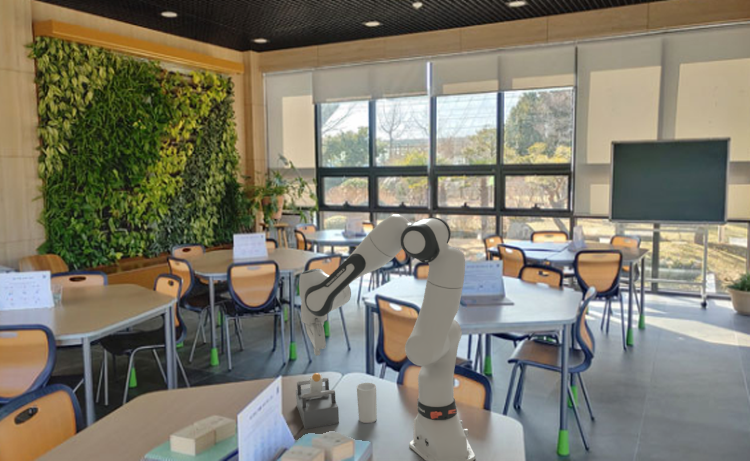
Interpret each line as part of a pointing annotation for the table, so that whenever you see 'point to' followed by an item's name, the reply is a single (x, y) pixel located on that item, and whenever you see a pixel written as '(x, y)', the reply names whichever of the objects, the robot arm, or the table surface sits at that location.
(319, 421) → the grey lever base
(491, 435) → the table surface
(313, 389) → the lever
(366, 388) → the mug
